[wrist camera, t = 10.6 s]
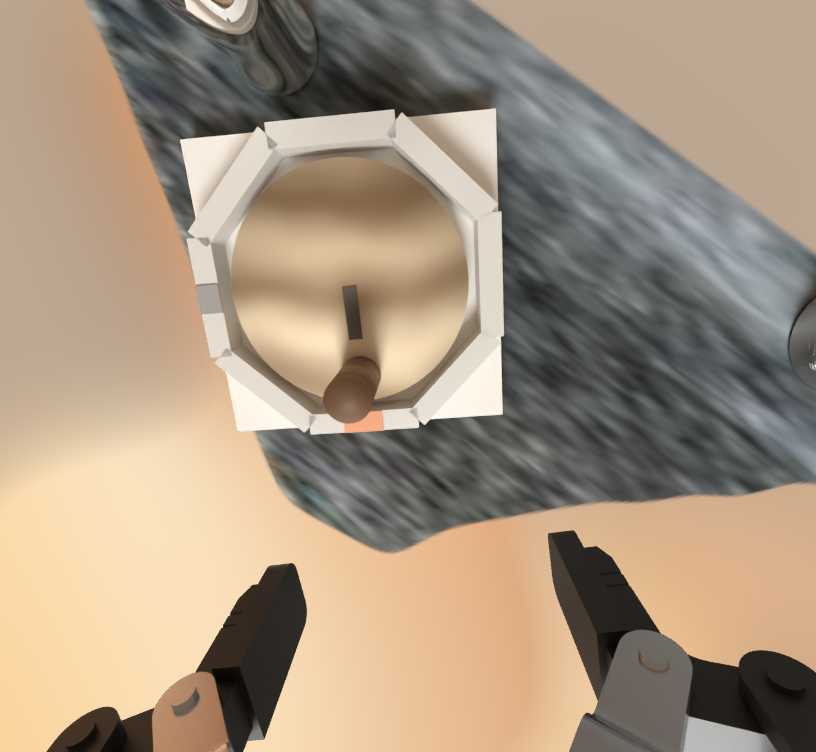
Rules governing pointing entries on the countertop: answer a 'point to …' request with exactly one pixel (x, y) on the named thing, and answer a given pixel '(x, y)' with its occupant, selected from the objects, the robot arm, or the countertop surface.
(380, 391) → the dial
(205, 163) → the dial housing
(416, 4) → the countertop surface
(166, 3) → the beer glass
